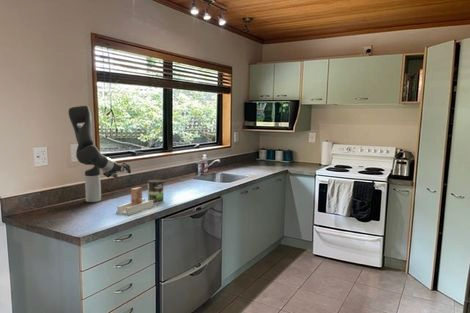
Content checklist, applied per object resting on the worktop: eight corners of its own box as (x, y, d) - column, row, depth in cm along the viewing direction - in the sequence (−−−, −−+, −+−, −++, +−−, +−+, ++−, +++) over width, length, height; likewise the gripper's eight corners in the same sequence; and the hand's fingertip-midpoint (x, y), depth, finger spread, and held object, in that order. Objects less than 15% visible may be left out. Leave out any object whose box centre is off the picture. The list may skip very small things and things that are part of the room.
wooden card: (135, 209, 205) (134, 189, 204) (131, 208, 206) (131, 188, 205) (142, 206, 210) (141, 187, 209) (138, 206, 212) (138, 187, 210)
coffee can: (166, 201, 227) (166, 180, 226) (153, 204, 220) (153, 182, 218) (157, 198, 234) (157, 178, 233) (144, 201, 227) (144, 180, 225)
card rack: (129, 215, 196) (128, 208, 195) (116, 212, 200) (116, 206, 200) (154, 206, 215) (154, 200, 215) (142, 204, 220) (142, 198, 219)
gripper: (118, 154, 186) (133, 164, 201) (95, 163, 188) (112, 172, 203) (119, 167, 183) (135, 176, 198) (96, 175, 185) (113, 183, 200)
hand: (123, 174), depth 200 cm, fingers open, 8 cm apart
